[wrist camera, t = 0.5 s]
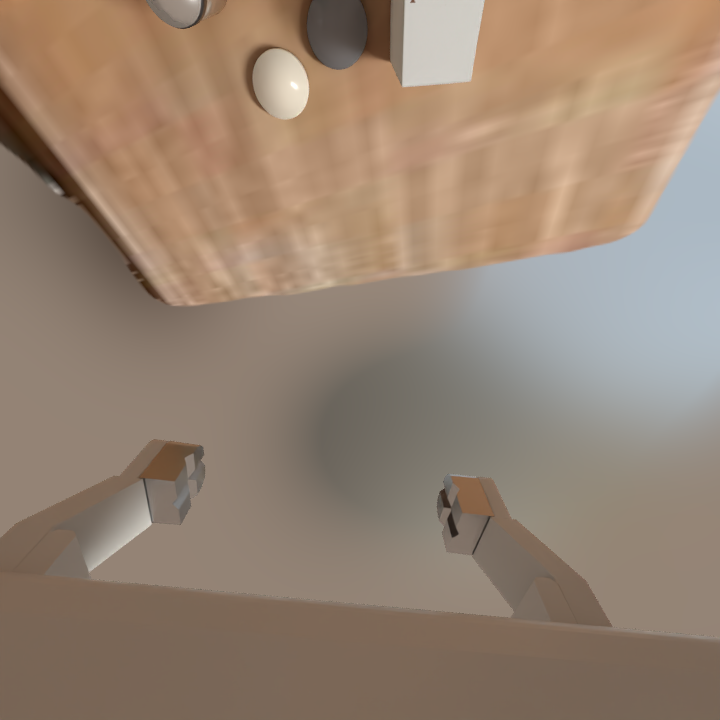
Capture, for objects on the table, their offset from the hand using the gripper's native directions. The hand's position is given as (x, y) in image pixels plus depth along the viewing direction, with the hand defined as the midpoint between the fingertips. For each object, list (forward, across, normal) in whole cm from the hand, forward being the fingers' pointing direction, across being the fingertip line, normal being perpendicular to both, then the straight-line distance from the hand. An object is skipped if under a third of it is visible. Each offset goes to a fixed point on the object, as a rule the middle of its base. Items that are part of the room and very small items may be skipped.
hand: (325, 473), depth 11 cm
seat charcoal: (+44, +6, -26) cm, 51 cm away
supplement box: (+44, -4, -28) cm, 53 cm away
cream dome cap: (+46, +12, -20) cm, 52 cm away
